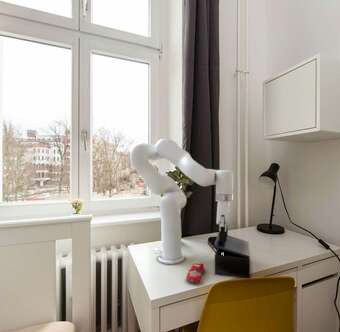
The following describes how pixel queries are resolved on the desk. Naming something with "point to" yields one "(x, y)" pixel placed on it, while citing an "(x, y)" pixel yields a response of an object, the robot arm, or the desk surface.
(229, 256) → the bin
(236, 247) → the bin lid
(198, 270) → the race car
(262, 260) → the desk surface
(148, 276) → the desk surface
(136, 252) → the desk surface
